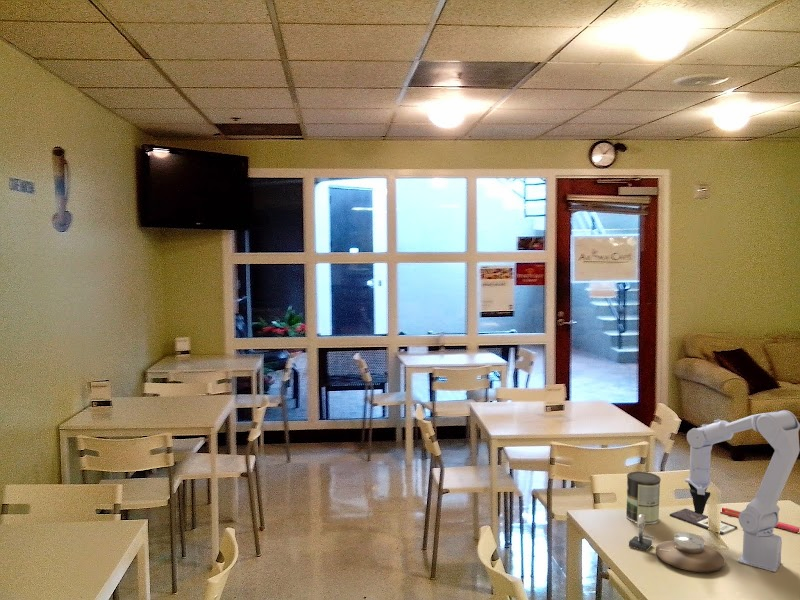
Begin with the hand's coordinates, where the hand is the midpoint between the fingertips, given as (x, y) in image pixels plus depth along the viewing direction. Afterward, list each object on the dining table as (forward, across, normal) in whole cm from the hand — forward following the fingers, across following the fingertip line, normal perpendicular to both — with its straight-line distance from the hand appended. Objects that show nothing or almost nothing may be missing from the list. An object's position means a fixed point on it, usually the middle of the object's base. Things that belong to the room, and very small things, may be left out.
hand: (698, 509), depth 207 cm
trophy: (+8, +13, -16) cm, 23 cm away
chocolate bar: (+9, -13, +3) cm, 16 cm away
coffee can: (+9, -9, -16) cm, 20 cm away
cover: (+7, +14, -3) cm, 16 cm away
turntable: (+8, +18, -3) cm, 20 cm away
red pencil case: (+9, -19, +20) cm, 29 cm away
